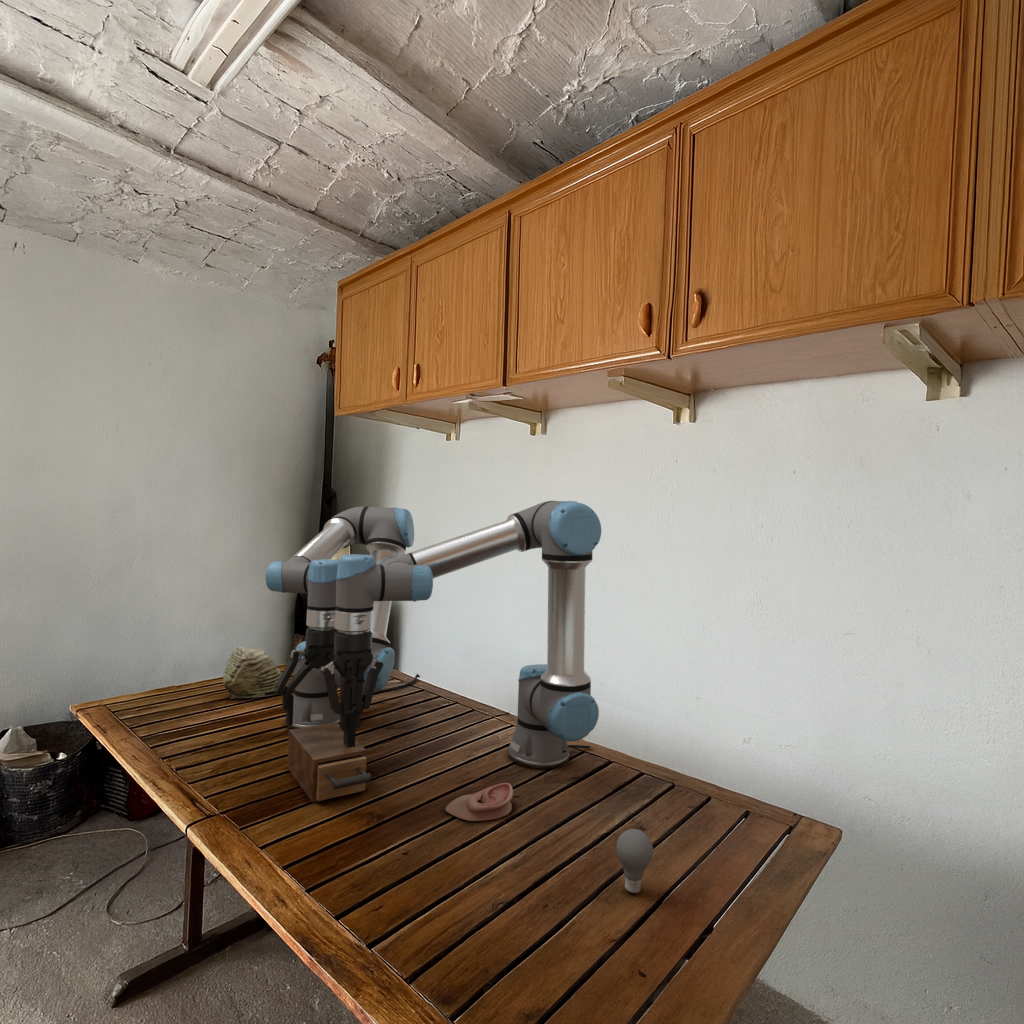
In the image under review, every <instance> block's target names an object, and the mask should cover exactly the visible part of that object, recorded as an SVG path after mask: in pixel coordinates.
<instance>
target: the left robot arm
mask: <svg viewBox="0 0 1024 1024" xmlns="http://www.w3.org/2000/svg"><path fill="white" fill-rule="evenodd" d="M414 542H415V525H414V519H413V516H412V513H411V512H410V510H408V509H407V508H401V507H395V506H394V507H385V506H383V507H381V506H366V505H365V506H363V505H361V506H355V507H351V508H348V509H346V510H343V511H341V512H339V513H337V514H336V515H334V516H332V517H331V518H330V519H328V521H326V522H325V524H324V526H323V528H322V530H321V531H320V532H319V533H317V535H315V536H314V537H313V538H312V539H311V540H310V541H309V542H307V543H306V544H305V545H304V546H303V547H301V549H300V550H298V551H297V552H296V553H295V554H293V556H291V557H290V558H289V559H288V560H287V561H283V560H280V561H272V562H271V563H269V565H267V567H266V572H265V575H264V576H265V577H264V578H265V585H266V587H267V589H268V590H269V591H271V592H278V593H282V594H285V593H289V594H307V605H306V609H307V610H306V620H305V621H306V623H305V625H306V626H307V628H306V629H305V640H304V641H302V642H299V643H298V644H297V645H296V647H295V649H291V650H290V654H289V659H288V661H287V663H286V665H285V667H284V669H283V671H282V672H281V673H282V675H281V676H280V678H279V680H278V682H277V684H276V686H275V688H274V691H275V692H276V693H277V694H276V695H281V697H282V700H281V707H282V709H283V711H286V712H285V726H286V728H287V729H288V730H292V729H298V728H304V727H310V726H317V725H323V724H329V723H335V722H337V723H338V724H339V725H340V714H336V713H335V712H334V711H333V710H332V709H331V706H330V701H329V696H328V691H327V686H326V682H325V677H324V676H323V674H322V673H321V671H320V667H321V666H326V665H327V664H329V663H330V662H331V659H332V656H333V654H334V636H335V632H336V631H338V630H336V629H335V613H336V577H337V569H338V560H339V559H334V557H335V556H336V555H337V554H338V553H340V551H341V550H342V549H346V548H347V549H348V548H349V547H350V546H352V545H366V547H365V548H366V550H367V551H368V552H369V555H371V556H374V557H375V562H376V565H378V563H379V562H380V561H381V560H383V559H385V558H388V557H398V556H401V555H404V554H406V550H407V549H408V548H409V549H410V548H411V547H413V545H414ZM392 603H393V601H374V604H373V627H372V629H370V631H371V632H372V649H371V651H372V654H373V658H374V659H376V660H379V661H380V662H382V663H383V667H382V669H381V671H380V672H379V674H378V678H377V682H376V685H375V689H374V693H373V695H375V694H379V693H384V692H389V691H393V690H398V689H401V688H404V687H408V686H410V685H413V684H414V683H415V682H416V681H417V680H418V679H419V678H421V676H420V674H418V673H416V674H415V676H414V678H413V680H411V681H409V682H407V683H403V684H400V685H396V686H393V687H386V688H385V686H387V684H388V683H389V681H390V678H391V677H392V676H391V675H392V673H393V671H394V666H395V657H396V654H395V650H394V648H392V647H391V641H390V640H389V639H388V637H387V633H388V625H389V621H390V620H389V619H390V614H391V608H392ZM369 666H370V665H369ZM369 666H368V668H367V669H366V671H365V672H364V680H363V686H362V691H364V687H365V683H366V679H367V676H368V672H369V669H370V667H369ZM292 674H293V676H292ZM291 676H292V678H291ZM333 677H334V680H335V684H336V689H337V690H338V689H340V687H341V679H340V673H339V672H338V671H337V669H336V668H335V667H334V674H333ZM290 678H291V679H290ZM352 689H353V677H352V681H351V684H350V708H349V711H352V712H353V710H352ZM292 693H293V694H292ZM362 695H363V693H362ZM339 704H340V701H339Z"/></svg>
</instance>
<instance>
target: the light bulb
mask: <svg viewBox="0 0 1024 1024" xmlns="http://www.w3.org/2000/svg"><path fill="white" fill-rule="evenodd" d="M615 849H616V854H617V857H618V859H619V861H620V863H621V865H622V867H623V873H624V874H623V875H624V876H625V878H624V888H625V890H627V891H628V892H630V893H634V894H635V893H639V892H640V891H641V889H642V887H641V886H642V879H643V877H644V875H645V871H646V868H647V867H648V866H649V864H650V863H651V861H652V859H653V855H654V847H653V843H652V841H651V838H649V836H648V835H647V834H646V833H645V832H643V831H642V830H641V829H636V828H629V829H627V830H625V831H623V832H622V833H621V834H620V835H619V837H618V839H617V841H616V847H615Z"/></svg>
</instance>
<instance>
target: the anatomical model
mask: <svg viewBox="0 0 1024 1024" xmlns="http://www.w3.org/2000/svg"><path fill="white" fill-rule="evenodd" d="M513 796H514V789H513V786H512V784H511V783H509V782H502V783H498V784H495V785H492V786H488V787H486V788H484V789H481V790H479V791H477V792H474V793H472V794H465V795H461V796H459V797H456V798H455V799H454V800H452V801H451V802H449V803H448V804H447V805H446V807H445V810H444V811H445V812H446V813H448V814H449V815H451V816H453V817H455V818H457V819H461V820H463V821H467V822H482V821H490V820H496V819H500V818H503V817H505V816H507V815H509V814H510V813H511V812H512V808H513V806H512V802H511V801H512V799H513Z"/></svg>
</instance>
